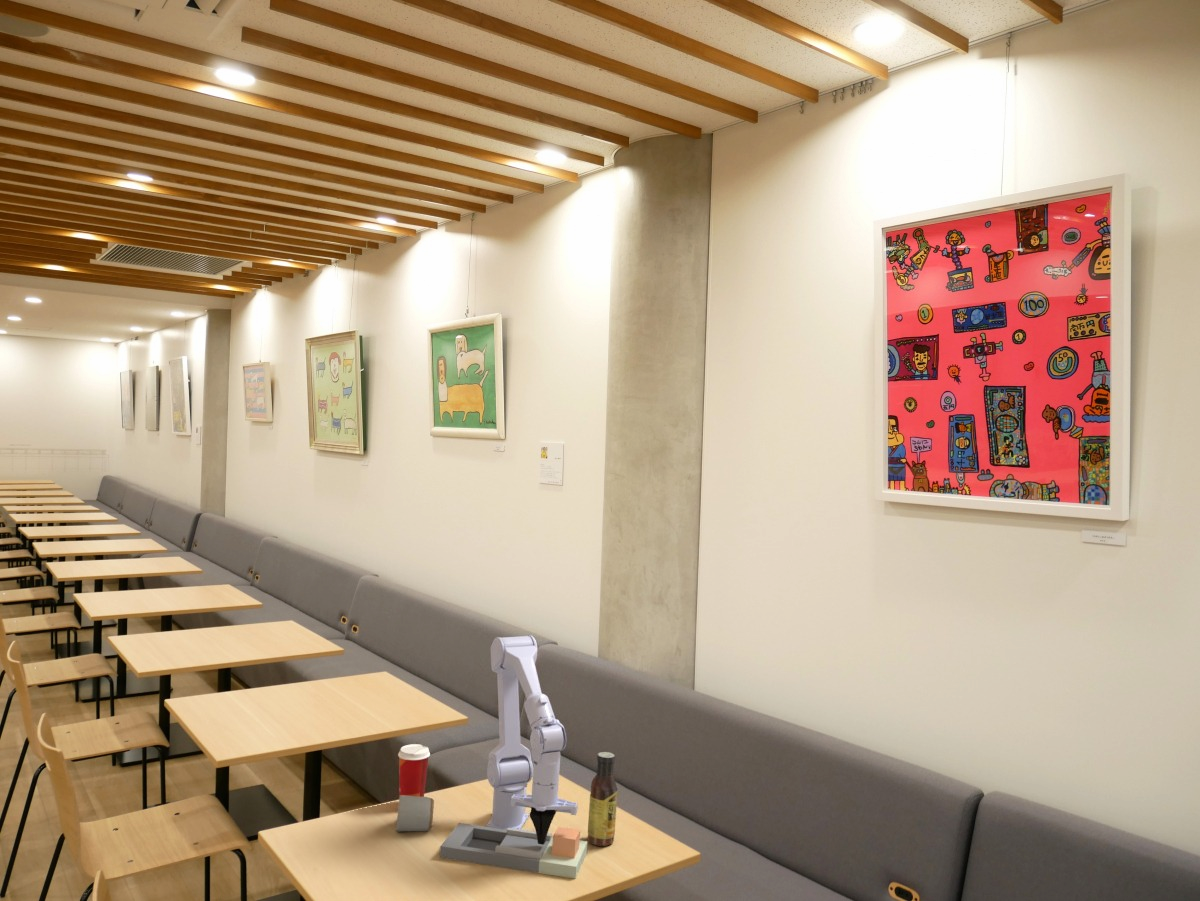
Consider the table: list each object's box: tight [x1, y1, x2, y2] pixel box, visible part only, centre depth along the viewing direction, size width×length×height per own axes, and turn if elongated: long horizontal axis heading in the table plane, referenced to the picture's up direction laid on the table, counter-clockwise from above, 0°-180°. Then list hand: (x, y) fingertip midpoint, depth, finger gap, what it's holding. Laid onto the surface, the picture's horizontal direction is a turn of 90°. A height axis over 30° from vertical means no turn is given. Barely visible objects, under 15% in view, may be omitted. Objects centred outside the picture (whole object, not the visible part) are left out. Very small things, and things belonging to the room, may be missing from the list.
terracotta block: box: [552, 826, 581, 858], centre depth 188 cm, size 5×5×4 cm
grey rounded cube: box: [395, 795, 435, 832], centre depth 202 cm, size 11×8×8 cm
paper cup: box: [397, 743, 431, 798], centre depth 212 cm, size 8×8×14 cm
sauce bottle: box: [587, 751, 618, 847], centre depth 200 cm, size 7×6×20 cm
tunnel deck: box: [439, 822, 588, 879], centre depth 191 cm, size 12×30×4 cm, turn 80°
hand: (541, 842), depth 190 cm, fingers closed
